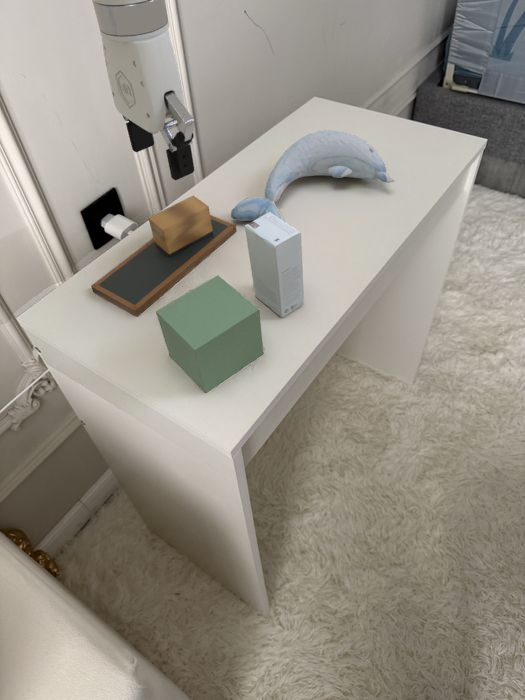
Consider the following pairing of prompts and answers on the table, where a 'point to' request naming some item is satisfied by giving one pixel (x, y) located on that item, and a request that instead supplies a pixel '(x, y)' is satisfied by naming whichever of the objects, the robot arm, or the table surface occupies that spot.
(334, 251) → the table surface
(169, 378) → the table surface
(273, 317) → the table surface
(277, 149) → the table surface
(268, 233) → the cosmetic box
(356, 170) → the sculpture
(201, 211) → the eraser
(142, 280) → the chalkboard
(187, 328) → the sage green box
